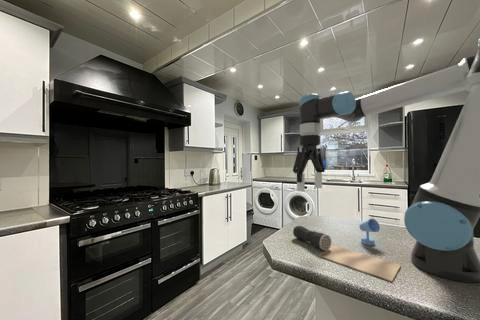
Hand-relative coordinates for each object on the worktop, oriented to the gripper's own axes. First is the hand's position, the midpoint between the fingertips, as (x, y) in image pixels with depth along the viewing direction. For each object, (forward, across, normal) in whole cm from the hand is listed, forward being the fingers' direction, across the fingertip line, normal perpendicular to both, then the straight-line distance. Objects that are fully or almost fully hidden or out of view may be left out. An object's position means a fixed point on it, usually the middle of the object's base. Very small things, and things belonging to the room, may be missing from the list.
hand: (310, 189), depth 79 cm
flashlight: (+21, 0, 0) cm, 21 cm away
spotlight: (+21, -17, +15) cm, 31 cm away
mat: (+21, +2, +17) cm, 27 cm away
